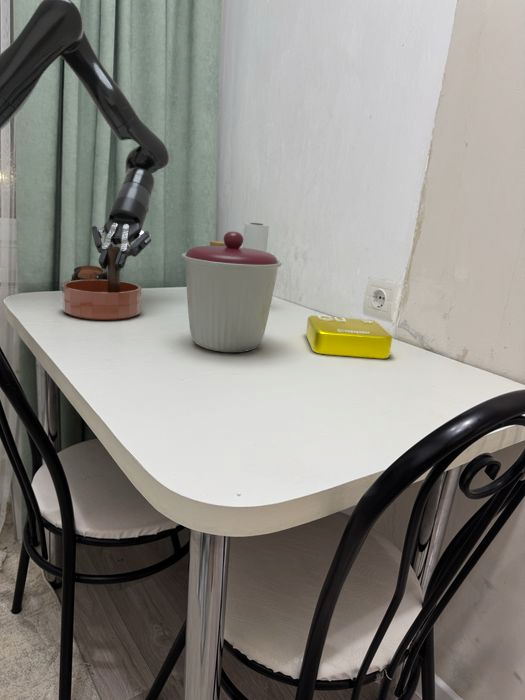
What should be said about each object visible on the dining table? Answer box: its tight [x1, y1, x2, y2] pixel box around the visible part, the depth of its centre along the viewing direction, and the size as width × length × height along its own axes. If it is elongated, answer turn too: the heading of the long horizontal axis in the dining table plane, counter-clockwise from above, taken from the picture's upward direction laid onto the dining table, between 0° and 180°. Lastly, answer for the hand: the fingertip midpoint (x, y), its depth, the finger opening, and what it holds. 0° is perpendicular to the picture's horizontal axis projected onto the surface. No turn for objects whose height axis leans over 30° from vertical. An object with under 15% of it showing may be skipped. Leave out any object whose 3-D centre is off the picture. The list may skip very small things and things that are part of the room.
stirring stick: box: [106, 246, 121, 292], centre depth 110 cm, size 5×5×14 cm
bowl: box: [61, 280, 142, 321], centre depth 112 cm, size 16×16×6 cm
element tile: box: [305, 314, 393, 360], centre depth 102 cm, size 15×15×5 cm
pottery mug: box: [70, 265, 107, 281], centre depth 131 cm, size 12×10×8 cm
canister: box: [180, 231, 283, 353], centre depth 93 cm, size 18×18×21 cm
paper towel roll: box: [242, 222, 270, 252], centre depth 130 cm, size 7×6×21 cm
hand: (110, 267), depth 107 cm, fingers closed on stirring stick, 2 cm apart
